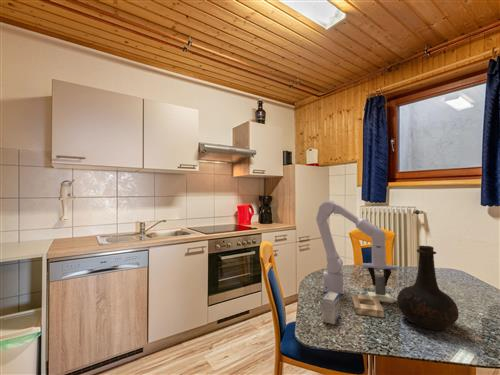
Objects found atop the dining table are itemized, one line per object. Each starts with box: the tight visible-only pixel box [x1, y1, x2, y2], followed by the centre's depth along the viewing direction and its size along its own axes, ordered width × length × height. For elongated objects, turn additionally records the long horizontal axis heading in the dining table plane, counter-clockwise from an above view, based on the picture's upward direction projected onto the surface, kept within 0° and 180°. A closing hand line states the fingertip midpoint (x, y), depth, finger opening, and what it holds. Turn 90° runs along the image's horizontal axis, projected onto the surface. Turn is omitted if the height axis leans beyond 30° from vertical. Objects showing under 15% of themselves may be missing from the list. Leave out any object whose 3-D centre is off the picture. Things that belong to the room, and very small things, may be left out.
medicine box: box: [321, 292, 340, 325], centre depth 93 cm, size 8×4×9 cm, turn 148°
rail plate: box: [351, 293, 385, 318], centre depth 102 cm, size 10×14×2 cm
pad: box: [367, 291, 394, 304], centre depth 112 cm, size 9×9×1 cm
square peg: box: [373, 273, 387, 295], centre depth 112 cm, size 4×4×8 cm
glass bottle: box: [396, 245, 460, 331], centre depth 90 cm, size 18×18×28 cm
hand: (379, 285), depth 113 cm, fingers closed on square peg, 4 cm apart
